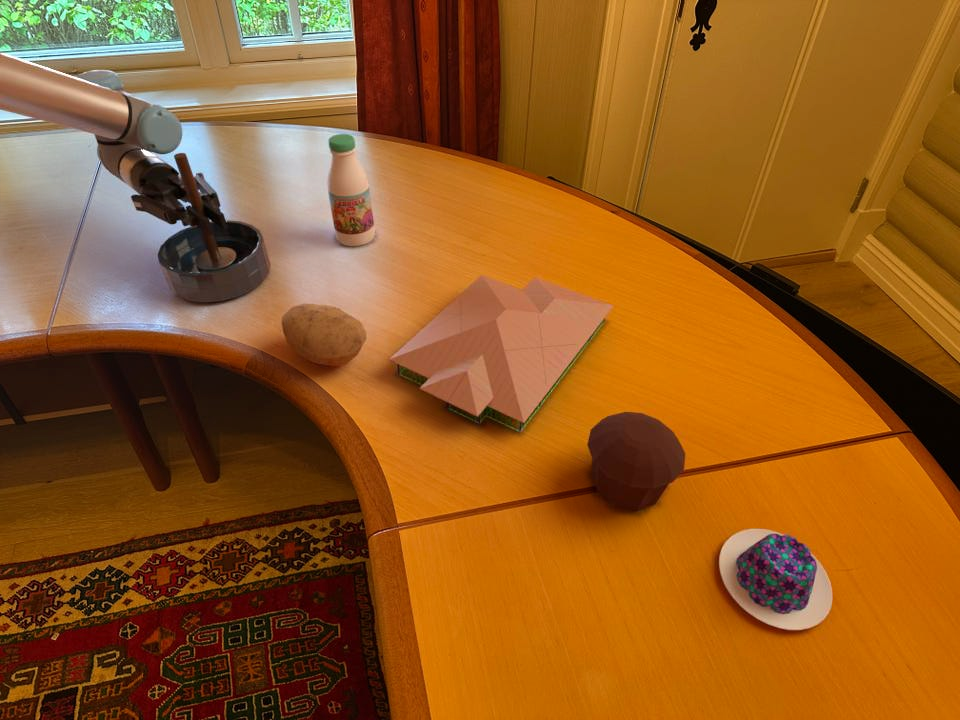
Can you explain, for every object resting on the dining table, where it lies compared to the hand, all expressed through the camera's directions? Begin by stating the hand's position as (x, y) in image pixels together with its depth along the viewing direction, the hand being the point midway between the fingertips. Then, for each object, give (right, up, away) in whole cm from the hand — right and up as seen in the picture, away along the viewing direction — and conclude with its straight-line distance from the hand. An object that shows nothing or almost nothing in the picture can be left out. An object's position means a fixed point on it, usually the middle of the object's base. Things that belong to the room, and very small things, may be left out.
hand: (216, 224), depth 98 cm
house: (+46, -21, -3) cm, 51 cm away
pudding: (+76, -47, -30) cm, 94 cm away
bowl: (-4, -7, +12) cm, 14 cm away
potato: (+19, -21, -3) cm, 29 cm away
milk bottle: (+18, +2, +22) cm, 29 cm away
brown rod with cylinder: (-4, -6, +11) cm, 13 cm away
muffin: (+62, -38, -20) cm, 75 cm away
